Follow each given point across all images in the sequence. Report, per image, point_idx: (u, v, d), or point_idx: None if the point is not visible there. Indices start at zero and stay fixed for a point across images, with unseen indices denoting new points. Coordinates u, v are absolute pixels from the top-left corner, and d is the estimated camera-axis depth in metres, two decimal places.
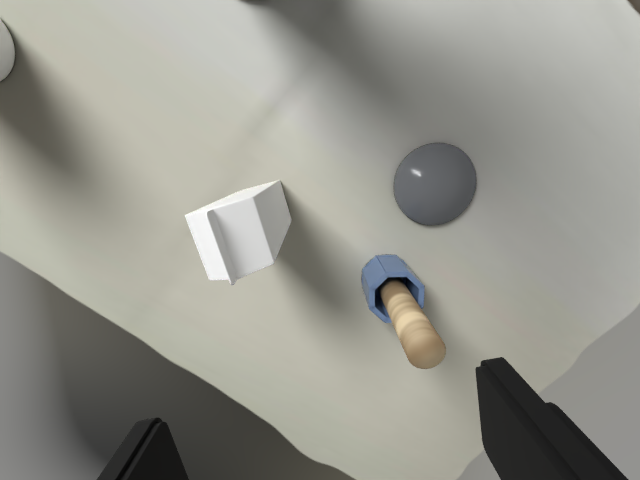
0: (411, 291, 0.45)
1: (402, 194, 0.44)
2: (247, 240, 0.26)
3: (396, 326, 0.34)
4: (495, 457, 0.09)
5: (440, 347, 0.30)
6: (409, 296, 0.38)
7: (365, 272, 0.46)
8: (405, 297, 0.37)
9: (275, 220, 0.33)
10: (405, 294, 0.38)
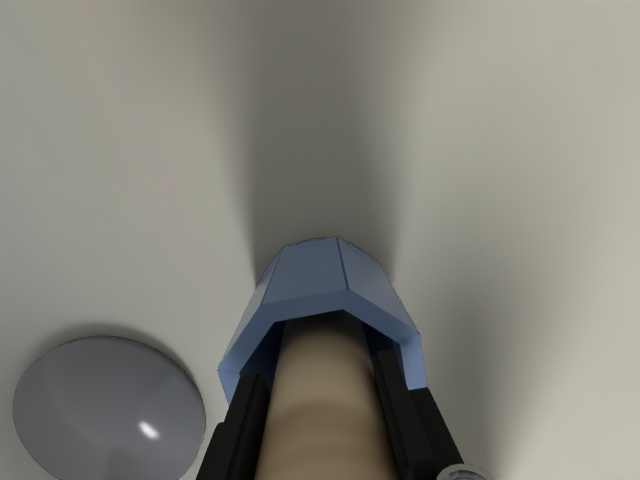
0: None
1: (183, 447, 0.20)
2: None
3: None
4: None
5: None
6: None
7: None
8: None
9: None
10: None
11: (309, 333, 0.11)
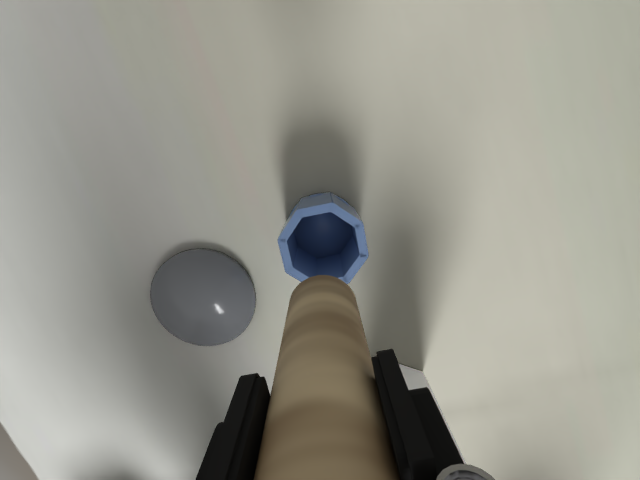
0: None
1: (244, 313, 0.35)
2: None
3: None
4: None
5: None
6: None
7: None
8: None
9: None
10: None
11: (310, 332, 0.11)
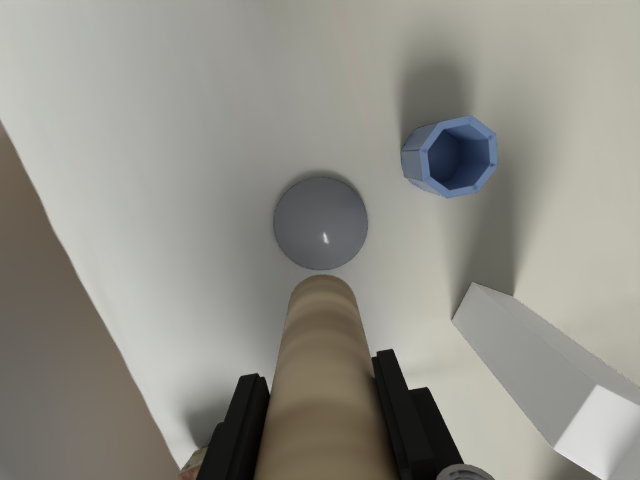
0: None
1: (357, 238, 0.38)
2: (602, 429, 0.22)
3: None
4: None
5: None
6: None
7: None
8: None
9: (521, 358, 0.29)
10: None
11: (309, 332, 0.11)
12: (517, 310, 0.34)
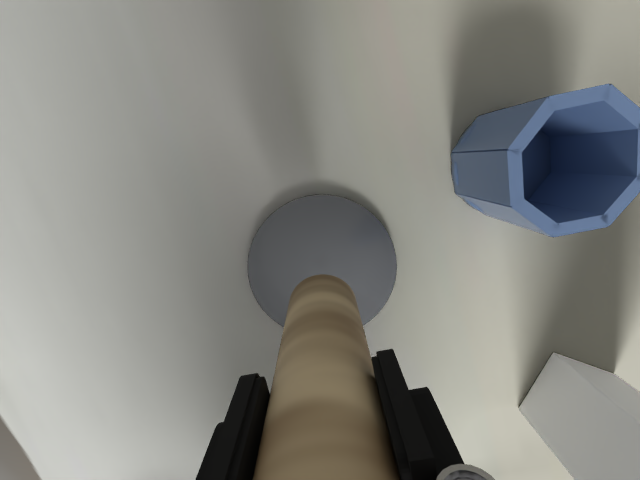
0: None
1: (379, 289, 0.24)
2: None
3: None
4: None
5: None
6: None
7: None
8: None
9: None
10: None
11: (309, 332, 0.11)
12: None
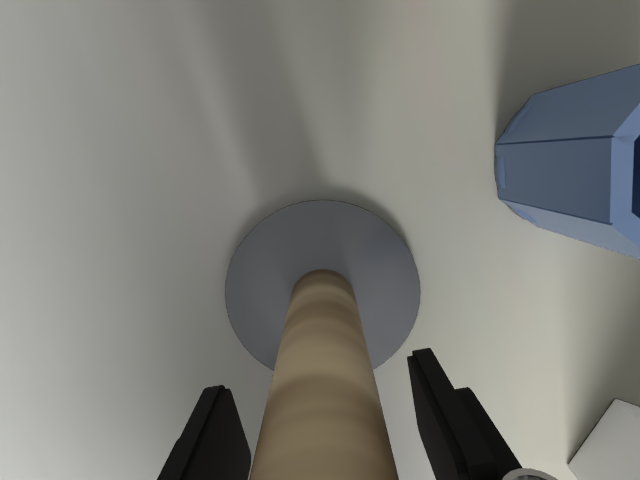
0: None
1: (397, 323, 0.19)
2: None
3: None
4: (423, 437, 0.10)
5: None
6: None
7: None
8: None
9: None
10: None
11: (309, 319, 0.12)
12: None
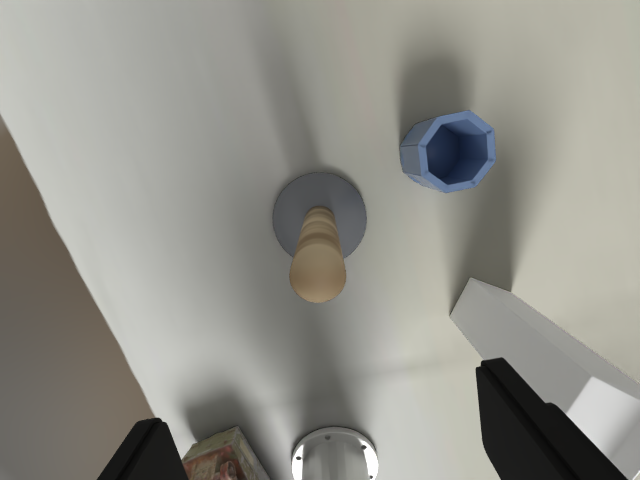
0: None
1: (355, 233, 0.38)
2: (597, 420, 0.22)
3: None
4: (495, 457, 0.09)
5: (297, 271, 0.20)
6: None
7: None
8: None
9: (518, 351, 0.29)
10: None
11: (314, 214, 0.32)
12: (514, 305, 0.35)
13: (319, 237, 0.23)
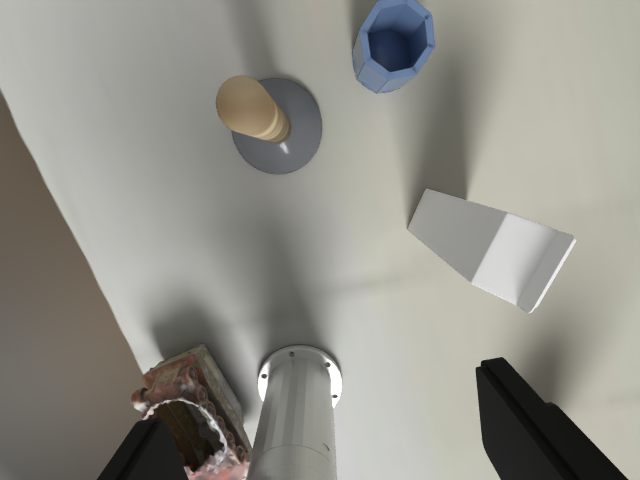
0: (372, 26, 0.34)
1: (312, 141, 0.40)
2: (512, 254, 0.24)
3: (272, 129, 0.26)
4: (495, 457, 0.09)
5: (223, 99, 0.22)
6: None
7: (401, 85, 0.37)
8: None
9: (455, 226, 0.30)
10: None
11: None
12: None
13: None
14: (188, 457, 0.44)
